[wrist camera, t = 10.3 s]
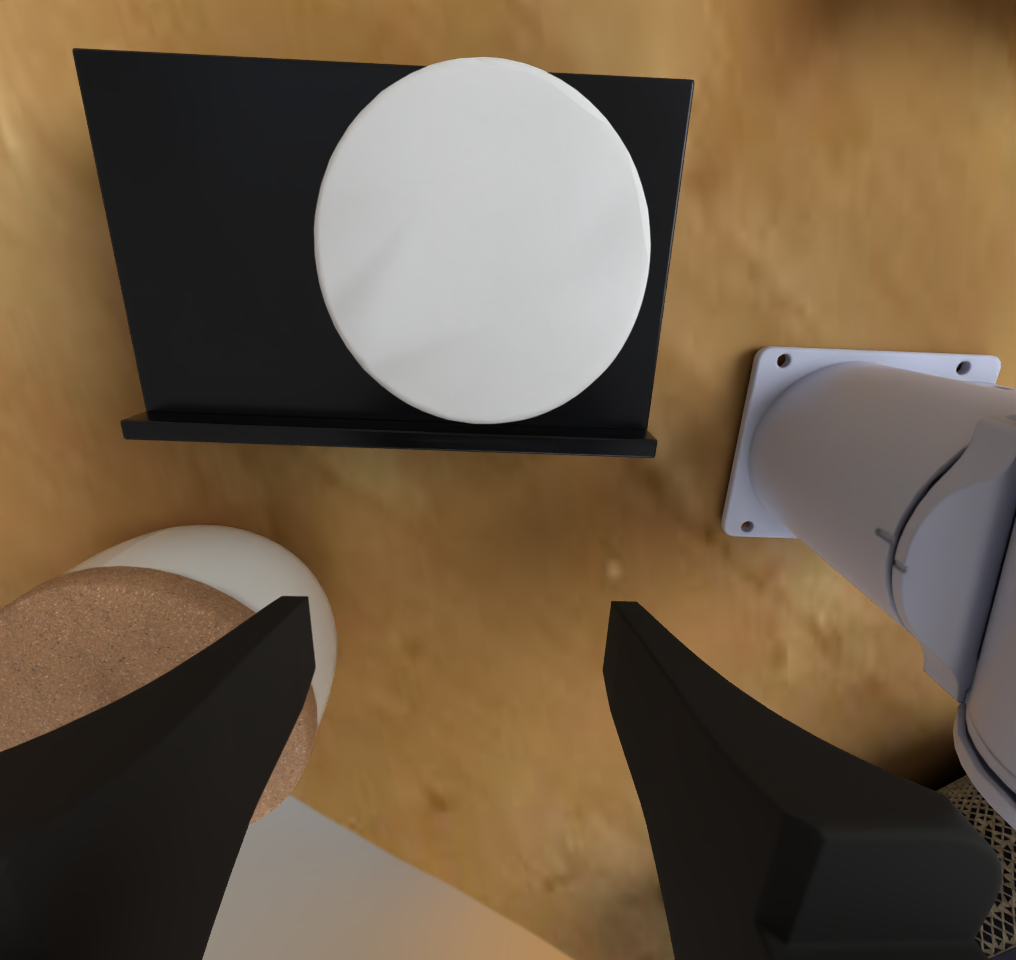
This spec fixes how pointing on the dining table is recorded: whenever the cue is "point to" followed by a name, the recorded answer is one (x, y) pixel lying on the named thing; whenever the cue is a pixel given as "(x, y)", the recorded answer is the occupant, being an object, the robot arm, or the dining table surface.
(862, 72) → the dining table surface
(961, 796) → the portable speaker
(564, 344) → the supplement bottle
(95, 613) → the trinket box
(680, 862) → the robot arm
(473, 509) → the dining table surface
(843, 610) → the dining table surface
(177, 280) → the black lipped tray
